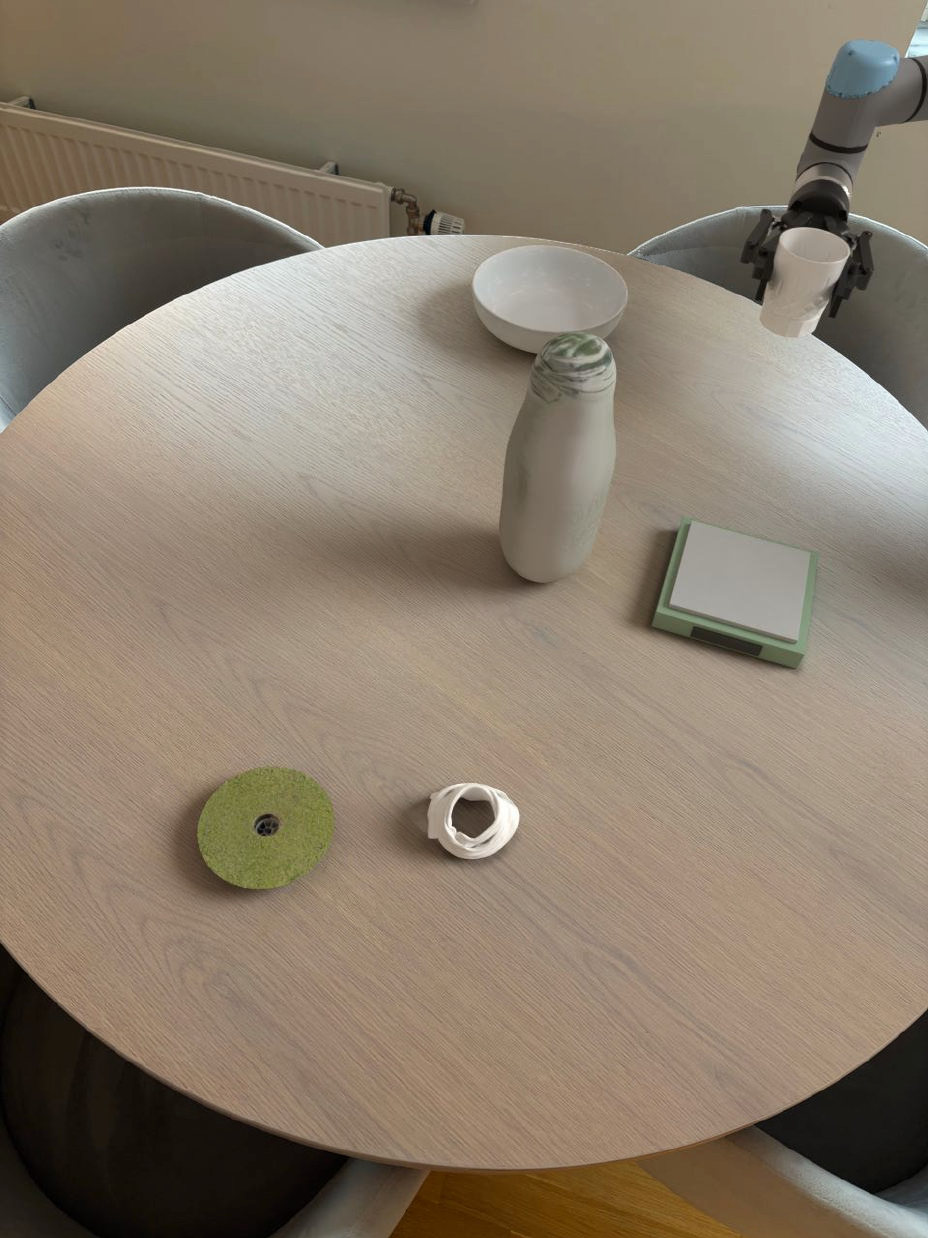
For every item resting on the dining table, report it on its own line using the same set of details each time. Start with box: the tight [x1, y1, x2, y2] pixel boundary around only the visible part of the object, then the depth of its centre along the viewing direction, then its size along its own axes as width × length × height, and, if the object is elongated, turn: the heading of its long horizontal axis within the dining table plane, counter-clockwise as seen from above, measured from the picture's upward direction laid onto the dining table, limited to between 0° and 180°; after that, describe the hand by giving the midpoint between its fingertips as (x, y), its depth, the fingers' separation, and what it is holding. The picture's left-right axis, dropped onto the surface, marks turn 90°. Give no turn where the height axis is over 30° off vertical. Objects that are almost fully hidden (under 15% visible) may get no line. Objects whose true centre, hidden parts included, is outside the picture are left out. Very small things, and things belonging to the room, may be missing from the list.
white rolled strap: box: [426, 782, 520, 860], centre depth 81 cm, size 8×7×5 cm
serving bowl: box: [470, 244, 629, 354], centre depth 128 cm, size 21×21×7 cm
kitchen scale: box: [651, 515, 820, 670], centre depth 100 cm, size 15×15×3 cm
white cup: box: [758, 227, 851, 339], centre depth 111 cm, size 8×8×10 cm
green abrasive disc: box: [196, 765, 335, 890], centre depth 80 cm, size 11×11×2 cm
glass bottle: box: [498, 332, 617, 584], centre depth 92 cm, size 10×10×28 cm
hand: (798, 298), depth 107 cm, fingers closed on white cup, 8 cm apart
